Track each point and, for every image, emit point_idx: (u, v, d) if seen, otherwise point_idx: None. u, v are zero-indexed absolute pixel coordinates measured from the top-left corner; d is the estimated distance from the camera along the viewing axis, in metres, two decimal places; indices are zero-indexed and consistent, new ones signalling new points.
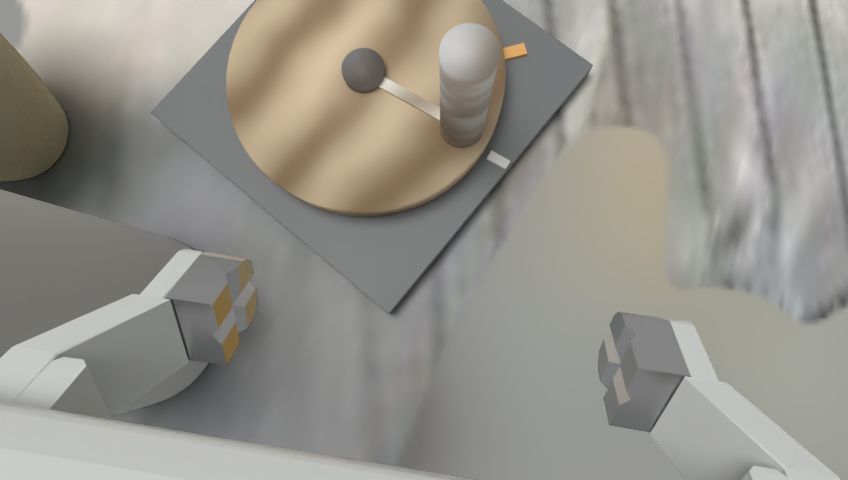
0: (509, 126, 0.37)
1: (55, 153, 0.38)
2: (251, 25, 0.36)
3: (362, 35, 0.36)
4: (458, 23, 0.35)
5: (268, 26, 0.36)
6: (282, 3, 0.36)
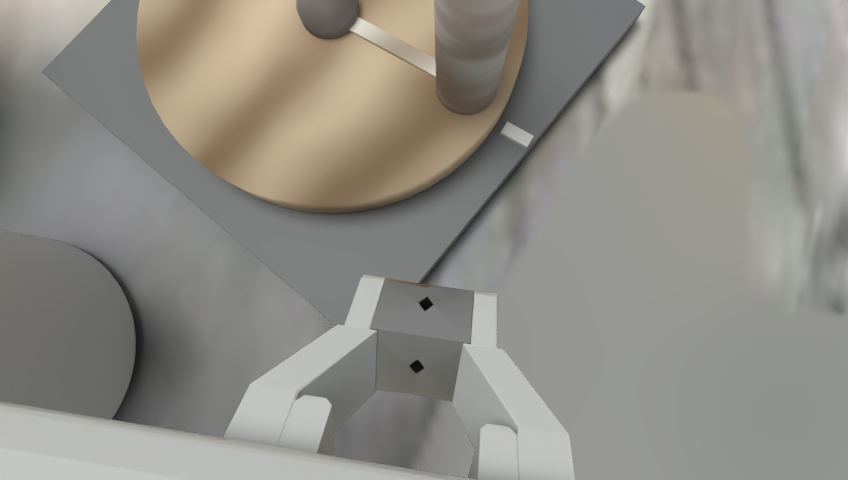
0: (532, 89, 0.27)
1: None
2: None
3: None
4: None
5: None
6: None
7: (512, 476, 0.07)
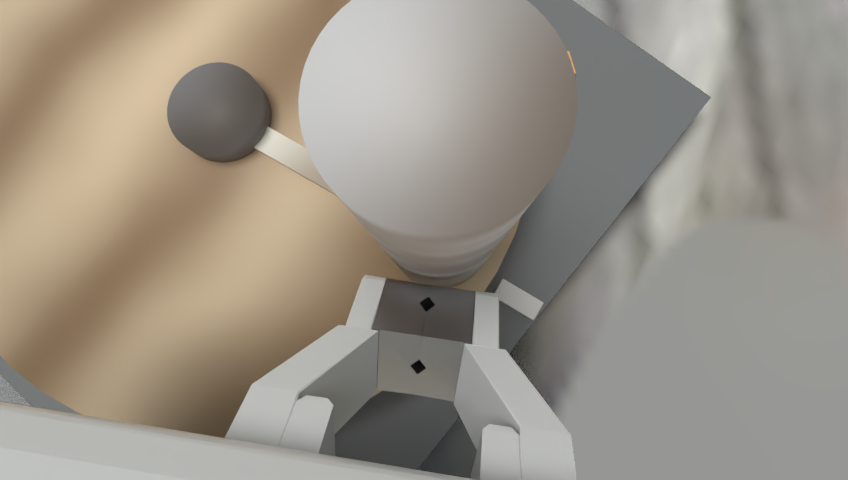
0: (541, 225, 0.18)
1: None
2: None
3: (223, 33, 0.17)
4: None
5: (26, 17, 0.17)
6: None
7: (514, 476, 0.07)
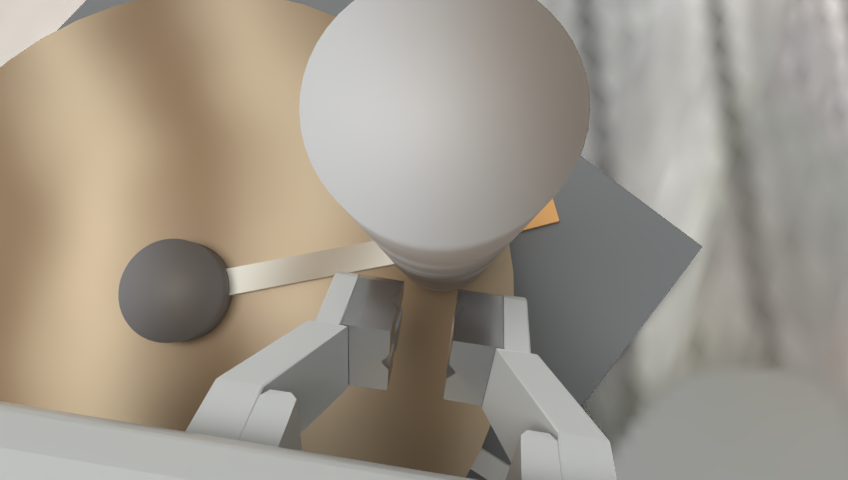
0: None
1: None
2: None
3: (121, 225, 0.15)
4: (277, 67, 0.16)
5: None
6: None
7: None
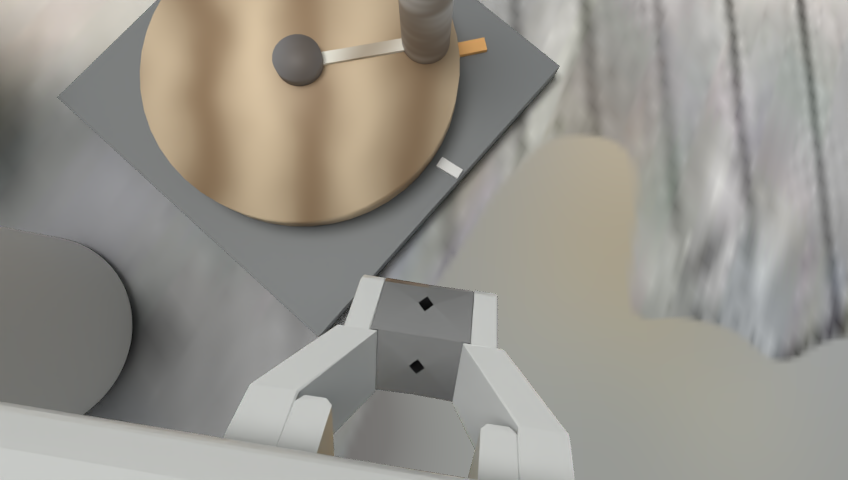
0: (464, 131, 0.33)
1: None
2: (155, 103, 0.31)
3: (267, 32, 0.31)
4: None
5: (173, 91, 0.31)
6: (167, 61, 0.31)
7: (512, 476, 0.07)
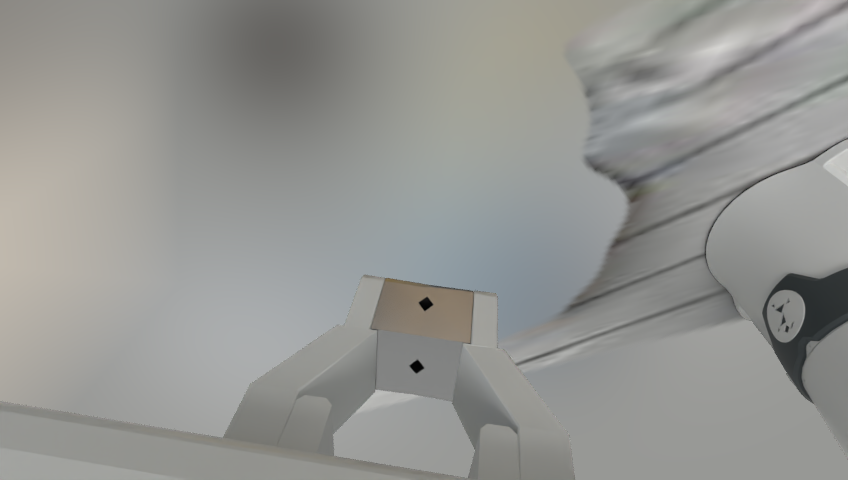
0: None
1: None
2: None
3: None
4: None
5: None
6: None
7: (512, 476, 0.07)
